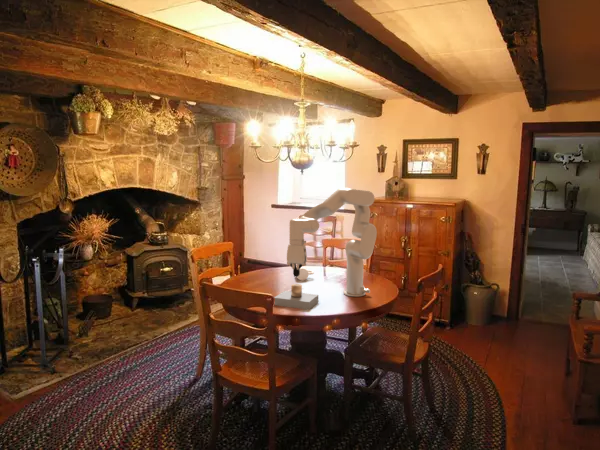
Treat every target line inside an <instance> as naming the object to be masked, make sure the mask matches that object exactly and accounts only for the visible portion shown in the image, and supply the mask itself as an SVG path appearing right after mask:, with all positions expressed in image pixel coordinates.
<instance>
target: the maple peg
mask: <svg viewBox="0 0 600 450" xmlns="http://www.w3.org/2000/svg"><path fill="white" fill-rule="evenodd" d="M290 287H291V288H290V289H291V291H290V292H291V297H293V298H300V297H302V293H303V285H302V284H300V283H293V284H291V285H290Z"/></svg>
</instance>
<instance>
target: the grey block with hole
mask: <svg viewBox="0 0 600 450" xmlns="http://www.w3.org/2000/svg"><path fill="white" fill-rule="evenodd" d="M274 298H275V305H274V306H280V307H288V308H295V309H301V310H308V311H309V310H310V309H312V308H313V307H315V305H317V304H318V303H319V294H313V293H307V292H306V293H305V292H304V293H303V292H302V297H300V298H293V297H291V291H290V290H284V291H282V292H281V293H279V294H277V295H276V296H273V299H274Z"/></svg>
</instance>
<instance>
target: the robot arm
mask: <svg viewBox="0 0 600 450" xmlns="http://www.w3.org/2000/svg"><path fill="white" fill-rule="evenodd" d="M375 200H376V199H375V195H374V193H373V192H372V191H369V190H363V189H362V190H361V189H355V188H349V187H341V188H338V189H337V190H336V191H335V192H333V193H332V194H330V196H329V197H327V198H326V199H325V200H324V201H323V202H321V203H319V204H318V205H316V206H314V207H312V208H310V209H308V210H307V211H306V212H305V213H303V214H302V215H301V216H300V217H299V218H291V219H290V220H289V244H288V246H287V251H286V265H288V266H290V268H291V269H292V273H293V277H295V278H297V277H298V276H299V274H300V268H301V267H303V266H305V267H306V266H307V262H308V259H307V258H308V256H307V249H306V248H307V247H306V245H305V244H306V243H307V241H306V240H305V239H304V238H305V237H304V235H305V233H310V234H311V233H313V234H314V233H315V232H317V231H319V229H320V223H319V221H318V220H320V219H322V218H326V217H330V216H333V215H334V214H335V213H336V212H337V211H338V210H339V209H341V208H342V207H343V206H344V205H345V204H347V205H353V207H354V210H355V211H354V212H355V213H354V217H353V219H354V220H353V224H352V226H351V227H352V229H351V234H352V236H353V237H355V238H357V239H350V240H349V241H348V242H347V243H346V244H345V255H346V282H345V283H346V287H345V288H346V289H344V290H343V294H344V295H345V296H348V297H353V298H354V297H363V296H365V295H366V293H367V294H370V293H371V289H370V288H365V285H364V260H369V259H370V258H371V256H372V255H373V252H374V249H375V244H376V240H377V235H378V232H377V231H378V230H377V227H376V226H375V225H374V224H373V223H370V217H371V209H370V206H372V205H373V204H374V202H375ZM358 239H359V240H358ZM296 267H297V268H296Z"/></svg>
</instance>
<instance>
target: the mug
mask: <svg viewBox="0 0 600 450" xmlns="http://www.w3.org/2000/svg"><path fill="white" fill-rule="evenodd" d="M296 268H297V266H296ZM314 274H315V271H314V270H309V269H307V267H306V266H303V267H301V268H300V274H299V276H298V277H296V278H297V279H298V280H299V281H305V280H307V279H308V278H309V275H314Z"/></svg>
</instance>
